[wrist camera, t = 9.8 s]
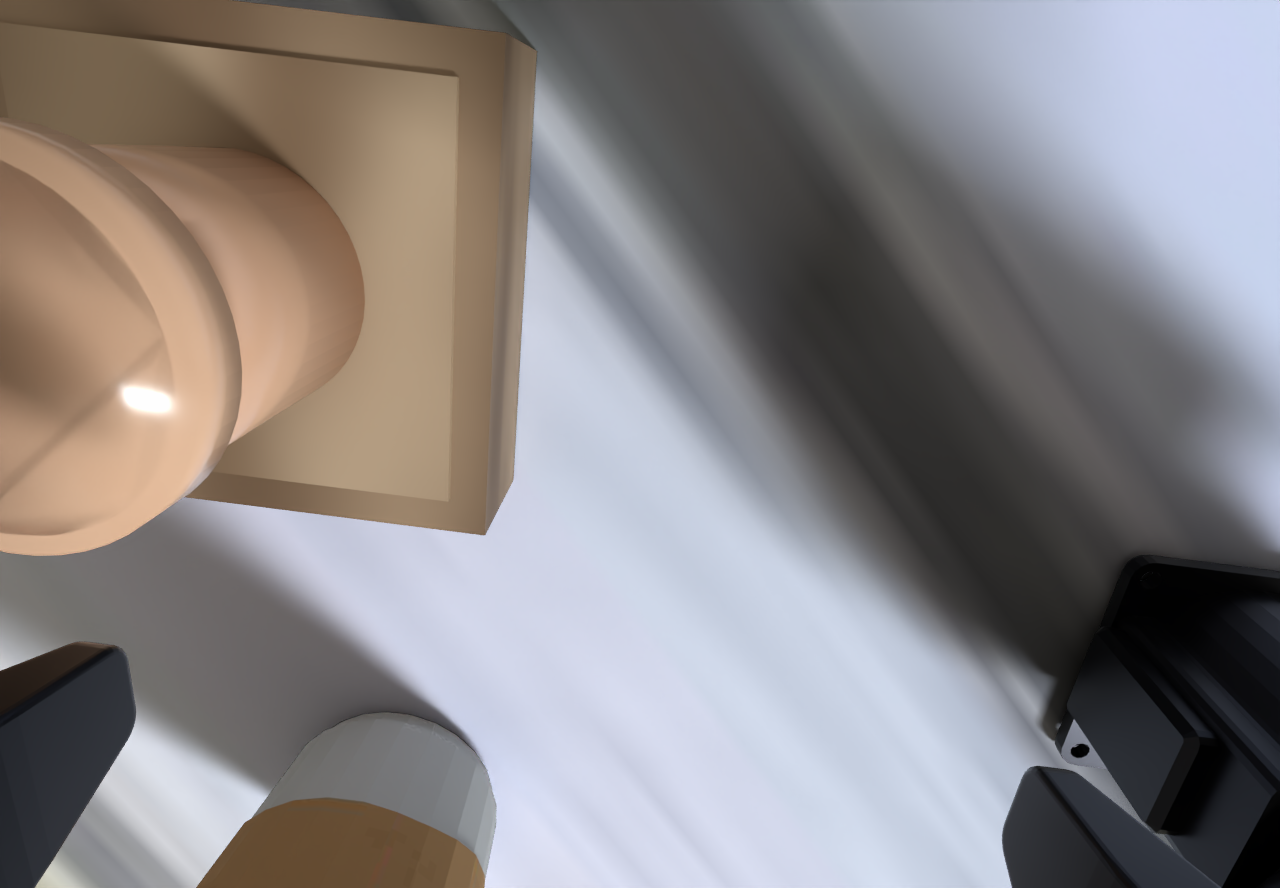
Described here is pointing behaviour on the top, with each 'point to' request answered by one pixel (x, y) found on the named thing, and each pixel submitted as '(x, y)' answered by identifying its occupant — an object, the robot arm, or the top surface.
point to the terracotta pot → (151, 323)
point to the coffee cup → (369, 813)
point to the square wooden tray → (364, 202)
